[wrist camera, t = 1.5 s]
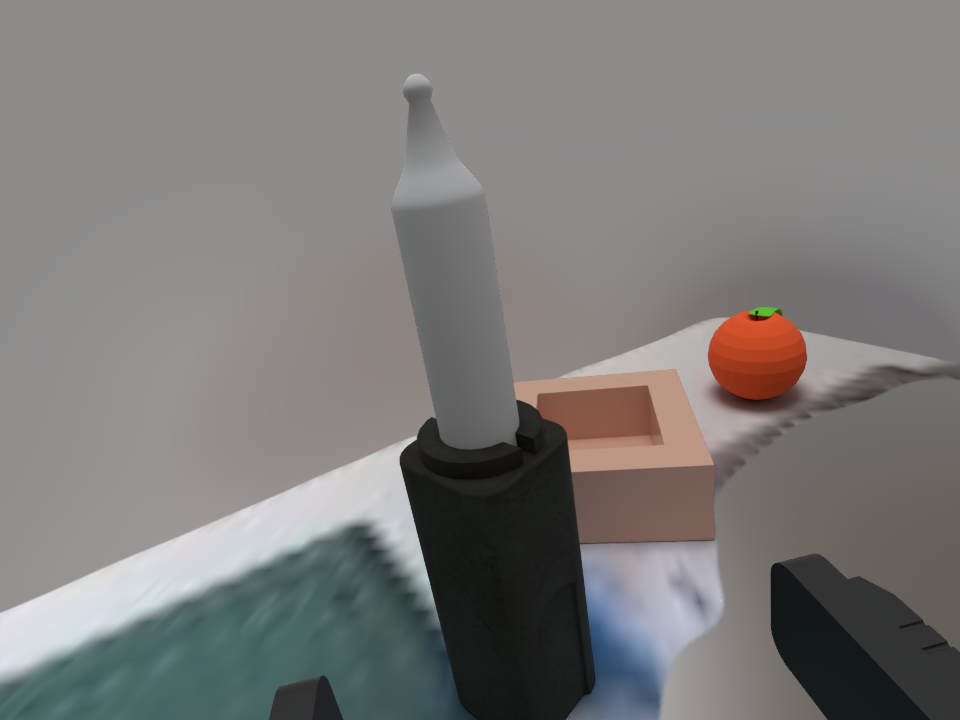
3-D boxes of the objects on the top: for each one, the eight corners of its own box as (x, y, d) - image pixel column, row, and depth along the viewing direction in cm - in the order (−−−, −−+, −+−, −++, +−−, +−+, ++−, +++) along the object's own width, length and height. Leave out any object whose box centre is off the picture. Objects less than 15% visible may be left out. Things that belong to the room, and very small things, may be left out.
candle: (518, 619, 29) (422, 82, 20) (605, 672, 26) (540, 52, 16) (447, 694, 26) (290, 96, 16) (535, 766, 23) (403, 62, 13)
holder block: (503, 545, 34) (490, 476, 32) (518, 439, 45) (510, 382, 43) (714, 539, 32) (714, 464, 30) (677, 429, 43) (675, 369, 41)
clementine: (738, 364, 51) (739, 288, 48) (824, 382, 46) (831, 297, 43) (691, 401, 46) (690, 319, 44) (781, 425, 41) (786, 333, 39)
